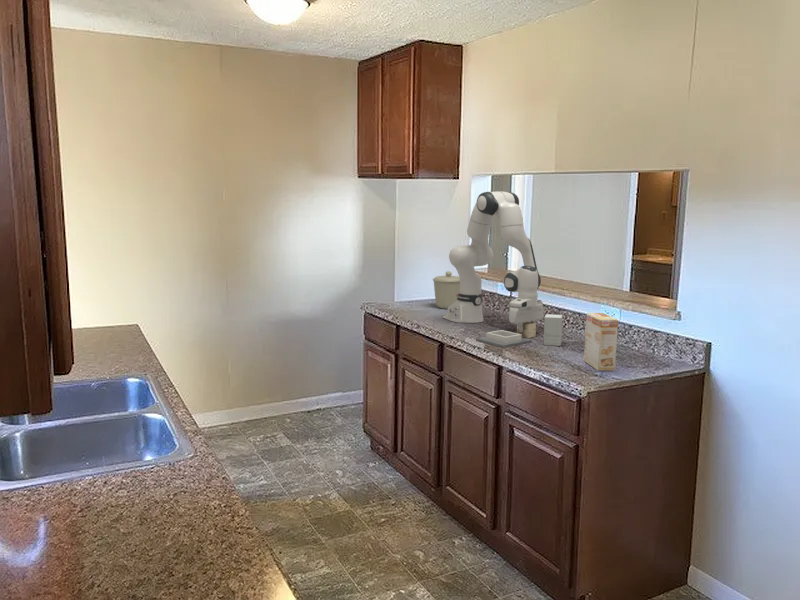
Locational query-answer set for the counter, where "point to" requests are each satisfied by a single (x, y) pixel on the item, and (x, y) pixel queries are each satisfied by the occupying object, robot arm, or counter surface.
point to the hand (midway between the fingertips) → (526, 330)
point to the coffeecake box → (601, 341)
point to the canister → (446, 290)
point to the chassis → (503, 338)
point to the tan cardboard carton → (527, 330)
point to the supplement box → (553, 329)
